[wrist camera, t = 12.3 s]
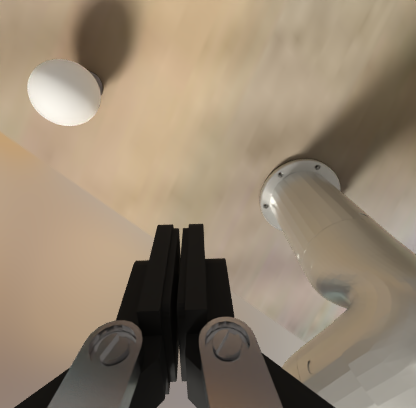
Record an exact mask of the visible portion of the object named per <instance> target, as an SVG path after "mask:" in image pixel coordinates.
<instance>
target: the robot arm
mask: <svg viewBox="0 0 416 408" xmlns="http://www.w3.org/2000/svg"><path fill="white" fill-rule="evenodd" d="M316 165H317V166H316ZM315 166H316V167H315ZM280 172H281V173H280ZM278 173H280V174H278ZM264 204H265V205H264ZM260 208H261V211H262V213H263V216H264V217H265V219H266V220H267V222H268V223H269V224H270V225H272V226H273V227H274V228H276V229H278V230H281V231H283V233H284V235H285V237H286V239H287V241H288V243H289V244H290V246H291V248H292V250H293V252H294V254H295V256H296V258H297V260H298V262H299V264H300V266H301V267H302V269H303V271H304V273H305V275H306V277H307V279H308V280H309V282H310V284H311V285H312V287H313V288H314V289H315V290H316V291H317V292H318V293H319V294H320V295H321V296H322V297H324V298H325V299H327V300H328V301H330V302H332V303H334V304H336V305H339V306H341V307H344V308H347V310H346V311H345V312H344V313H343V314H342V315H340V316H339V317H338V318H337V319H336V320H334V322H333V323H332V324H331V325H329V326H328V327H327V328H325V329H324V330H323V331H322V332H320V333H319V334H318V335H317V336H315V337H314V338H313V339H311V340H310V341H309V342H308V343H306V344H305V345H304V346H303V347H301V348H300V349H299V350H298V351H296V352H295V353H294V354H293V355H292V356H291V357H290V358H289V359H288V360H287V361H286V362H285V363H284V365H283V366H282V368H281V367H280V366H279V365H277V364H276V363H275V362H273V361H272V360H271V359H269V358H268V357H267V356H265V355H264V354H263V353H261V350H260V347H259V345H258V342H257V340H256V337H255V335H254V333H253V331H252V330H251V328H250V327H249V326H248V325H247V324H246V323H244V322H242V321H241V320H239V319H236V318H234V312H233V305H232V299H231V292H230V285H229V279H228V272H227V266H226V260H225V258H222V259H205V251H204V229H203V224H189V228H183V235H182V247H181V256H180V239H179V228H173V225H158V226H157V230H156V234H155V238H154V242H153V247H152V251H151V255H150V259H149V260H147V261H136V262H135V263H134V265H133V268H132V271H131V274H130V278H129V281H128V284H127V287H126V290H125V293H124V296H123V300H122V303H121V306H120V309H119V312H118V315H117V319H116V321H112V322H109V323H106V324H104V325H102V326H100V327H98V328H97V329H96V330H95V331H94V332H92V333H91V334H90V336H89V337H88V338H87V340H86V341H85V343H84V345H83V346H82V348H81V350H80V351H79V353H78V355H77V356H76V358H75V360H74V362H73V364H72V365H71V367H70V368H69V369H67V370H66V371H65V372H63V373H62V374H60V375H59V376H58V377H56V378H55V379H54V380H52V381H51V382H49V383H48V384H46V385H45V386H44V387H42V388H41V389H39V390H38V391H37V392H35V393H34V394H32V395H31V396H30V397H28V398H27V399H26V400H24V401H23V402H21V403H20V404H19V405H17V406H16V407H14V408H157V407H158V406H159V404H161V402H162V401H164V399H165V394H169V388H170V382H176V380H177V367H178V352H179V350H180V363H181V376H182V381H187V390H188V391H187V392H188V399H189V400H190V401H191V402H192V403H193V404H194V405H195V406H196V407H197V408H416V254H414V253H413V252H412V251H411V250H409V249H408V248H407V247H406V246H404V245H403V244H402V243H401V242H399V241H398V240H397V239H395V238H394V237H393V236H392V235H391V234H390V233H388V232H387V231H386V230H385V229H384V228H382V227H381V226H380V225H379V224H378V223H377V222H375V221H374V220H373V219H372V218H371V217H370V216H369V215H367V214H366V213H365V212H364V211H363V210H362V209H360V208H359V207H358V206H357V205H356V204H355V203H353V202H352V201H351V200H350V199H349V198H348V197H346V196H345V195H344V194H343V193H342V192H341V188H340V183H339V179H338V177H337V175H336V174H335V172H334V171H333V170H332V169H331V168H330V167H328V166H327V165H326V164H324V163H322V162H320V161H317V160H313V159H298V160H294V161H290V162H288V163H286V164H284V165H282V166H280V167H279V168H277V169H276V170H274V172H273V173H272V174H271V175H270V176H269V177H268V178H267V180H266V181H265V183H264V185H263V187H262V189H261V193H260Z"/></svg>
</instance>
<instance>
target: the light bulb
mask: <svg viewBox="0 0 416 408" xmlns="http://www.w3.org/2000/svg"><path fill="white" fill-rule="evenodd" d="M27 88H28V95H29V99H30V101H31V103H32V105H33V106H34V108H35V109H36V110H37V112H38V113H39V114H40V115H42V116H43V117H44V118H46V119H47V120H49V121H51V122H53V123H56V124H58V125H64V126H75V125H80V124H83V123H85V122H87V121H88V120H90V119H91V118H92V117H93V116H94V115H95V114H96V113H97V110H98V108H99V106H100V102H101V95H102V91H103V87H102V83H101V81H100V79H99V77H98V76H97V75H96V74H94V73H92V72H90V71H88V70H87V69H86V68H84V67H83V66H81V65H80V64H78V63H76V62H73V61H70V60H65V59H52V60H48V61H45V62H43V63H41V64H40V65H38V66H37V67H36V68H35V69H34V70H33V72H32V73H31V75H30V77H29V80H28V86H27Z"/></svg>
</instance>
